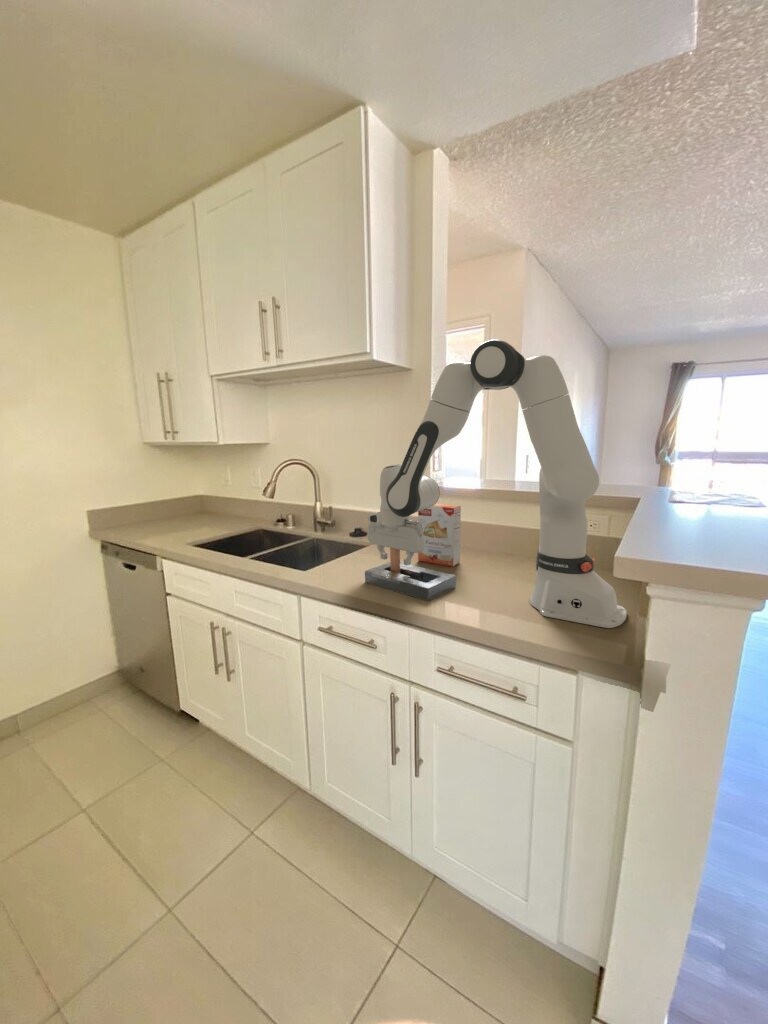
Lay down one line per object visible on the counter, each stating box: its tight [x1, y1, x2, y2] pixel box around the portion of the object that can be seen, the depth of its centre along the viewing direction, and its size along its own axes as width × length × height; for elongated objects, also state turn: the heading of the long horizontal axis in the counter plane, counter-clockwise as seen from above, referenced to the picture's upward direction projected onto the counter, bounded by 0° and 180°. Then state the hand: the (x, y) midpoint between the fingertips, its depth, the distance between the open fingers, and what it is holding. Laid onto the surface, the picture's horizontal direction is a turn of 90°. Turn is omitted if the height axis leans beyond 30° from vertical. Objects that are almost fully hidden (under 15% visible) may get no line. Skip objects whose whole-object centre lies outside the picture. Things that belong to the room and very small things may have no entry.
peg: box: [389, 547, 401, 574], centre depth 128 cm, size 5×5×11 cm
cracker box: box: [417, 503, 462, 568], centre depth 146 cm, size 14×6×21 cm, turn 55°
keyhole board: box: [364, 561, 457, 602], centre depth 126 cm, size 24×14×4 cm, turn 48°
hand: (395, 561), depth 128 cm, fingers open, 8 cm apart
